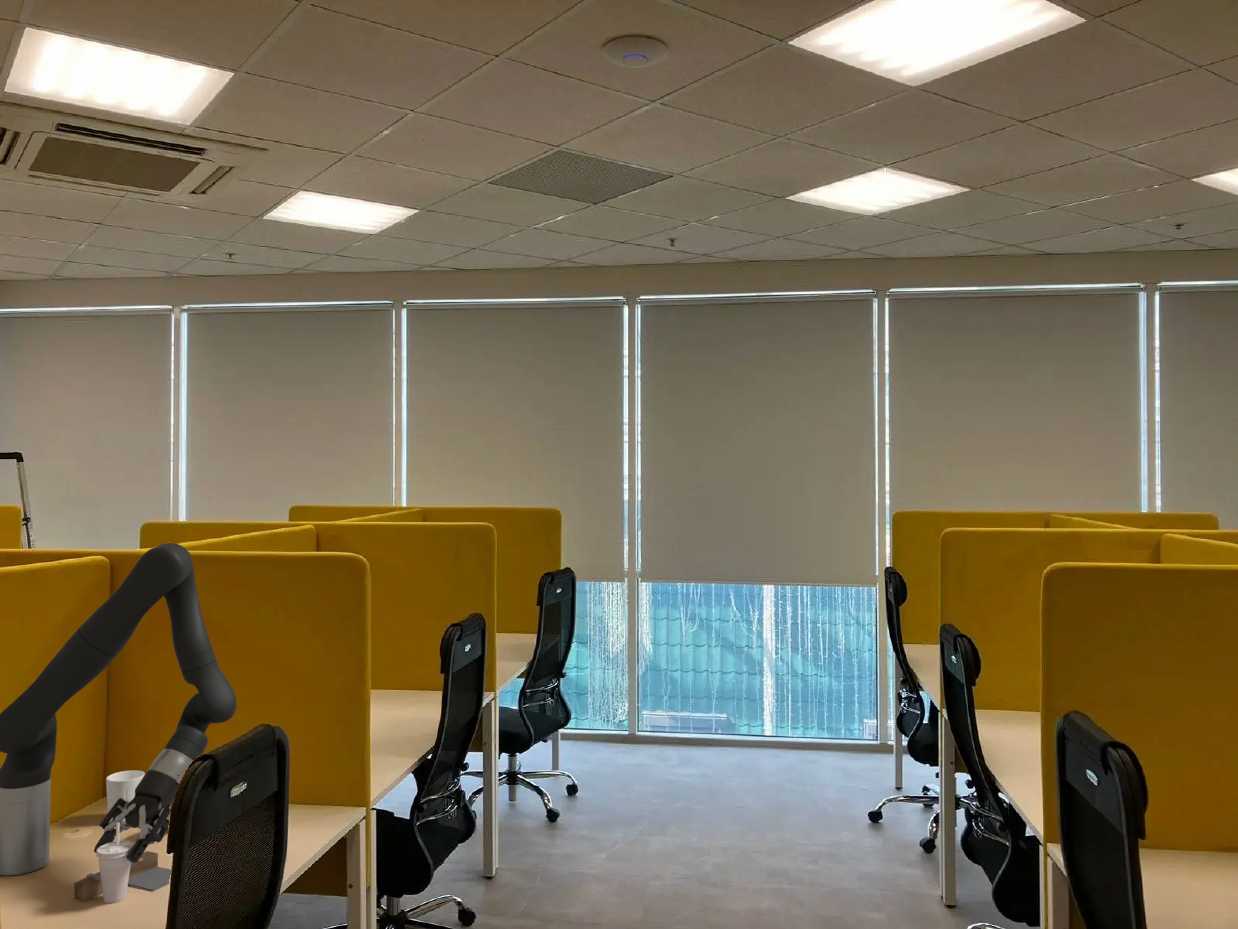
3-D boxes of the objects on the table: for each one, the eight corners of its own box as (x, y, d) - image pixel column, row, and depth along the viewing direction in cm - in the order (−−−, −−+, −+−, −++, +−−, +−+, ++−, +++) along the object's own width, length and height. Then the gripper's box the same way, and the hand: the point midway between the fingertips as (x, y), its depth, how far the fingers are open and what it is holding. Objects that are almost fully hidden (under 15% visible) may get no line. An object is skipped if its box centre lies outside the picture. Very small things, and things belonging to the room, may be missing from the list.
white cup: (110, 814, 214) (110, 772, 214) (147, 811, 216) (147, 769, 216) (101, 826, 206) (102, 782, 206) (140, 823, 208) (140, 779, 209)
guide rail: (73, 898, 170) (73, 880, 170) (146, 865, 185) (146, 849, 185) (85, 901, 169) (85, 883, 169) (157, 868, 184) (158, 851, 184)
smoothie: (141, 892, 173) (142, 818, 174) (119, 907, 167) (121, 831, 167) (110, 890, 174) (111, 817, 174) (87, 905, 168) (88, 829, 168)
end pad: (122, 884, 177) (122, 882, 177) (157, 868, 184) (157, 866, 184) (152, 891, 174) (152, 889, 174) (186, 874, 181) (187, 873, 181)
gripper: (128, 764, 181) (74, 842, 171) (181, 772, 176) (129, 854, 165) (150, 782, 186) (99, 860, 175) (203, 791, 181) (153, 872, 170)
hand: (114, 857), depth 170 cm, fingers open, 8 cm apart
